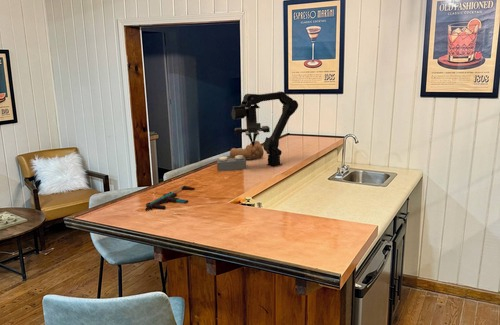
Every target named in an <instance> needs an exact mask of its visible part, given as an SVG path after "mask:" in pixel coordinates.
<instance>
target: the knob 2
mask: <svg viewBox="0 0 500 325" xmlns="http://www.w3.org/2000/svg"><path fill="white" fill-rule="evenodd" d="M235 159H236V160H241V159H243V155H237V156H235Z"/></svg>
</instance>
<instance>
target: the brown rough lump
mask: <svg viewBox="0 0 500 325" xmlns="http://www.w3.org/2000/svg"><path fill="white" fill-rule="evenodd" d="M264 151H265V150H264V148H263V146H262V143H260V141H258V140H255V143H254V146H252V143H251V142H250V144H247V145H246V147H244V148H235V147H234V148H233V147H232V148H231V149H230V152H229V157H230V158H235V156H237V155H243V157H245V158H246V160H247V159H249V160H255V159H256V158H258V159H260V158H263V157H264Z"/></svg>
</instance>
